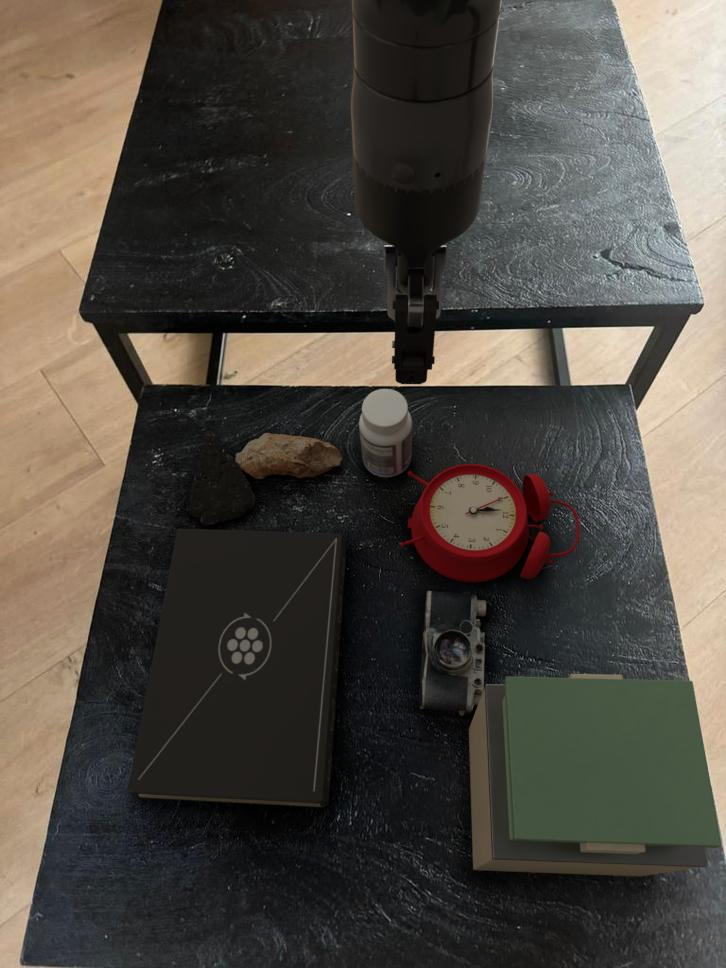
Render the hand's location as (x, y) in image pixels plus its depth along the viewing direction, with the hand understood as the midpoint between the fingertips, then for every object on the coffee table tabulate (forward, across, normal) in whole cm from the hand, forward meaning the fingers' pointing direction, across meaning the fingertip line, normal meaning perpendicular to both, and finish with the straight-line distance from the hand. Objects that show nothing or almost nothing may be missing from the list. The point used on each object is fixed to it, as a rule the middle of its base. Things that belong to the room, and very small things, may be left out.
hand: (411, 333), depth 56 cm
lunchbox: (+5, -29, -11) cm, 32 cm away
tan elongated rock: (+19, 0, +11) cm, 22 cm away
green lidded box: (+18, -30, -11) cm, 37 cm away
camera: (+19, -18, -4) cm, 27 cm away
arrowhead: (+18, -7, +16) cm, 26 cm away
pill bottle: (+19, +1, +2) cm, 19 cm away
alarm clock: (+19, -7, -8) cm, 21 cm away
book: (+19, -20, +13) cm, 30 cm away
